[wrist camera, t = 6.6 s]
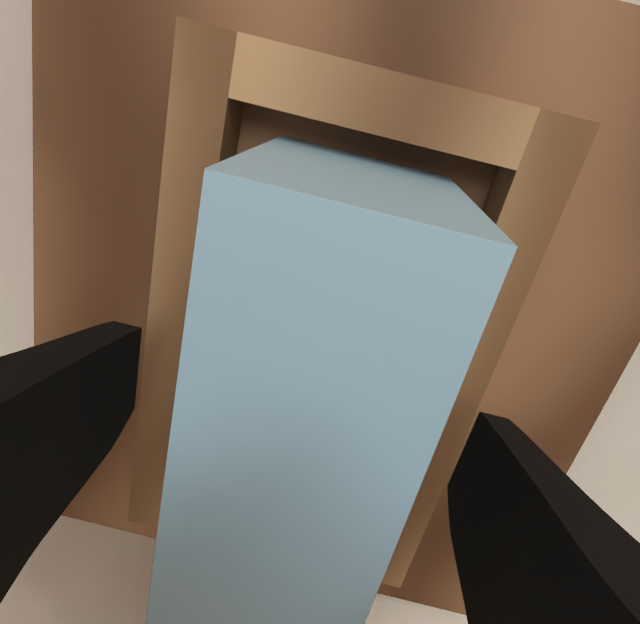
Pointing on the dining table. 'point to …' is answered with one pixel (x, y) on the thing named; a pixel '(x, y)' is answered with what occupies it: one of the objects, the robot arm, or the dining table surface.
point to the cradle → (360, 138)
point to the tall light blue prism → (313, 379)
